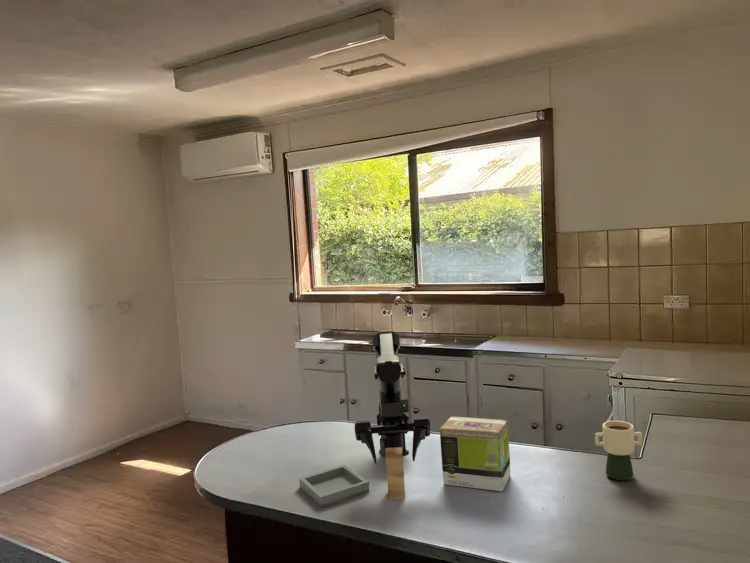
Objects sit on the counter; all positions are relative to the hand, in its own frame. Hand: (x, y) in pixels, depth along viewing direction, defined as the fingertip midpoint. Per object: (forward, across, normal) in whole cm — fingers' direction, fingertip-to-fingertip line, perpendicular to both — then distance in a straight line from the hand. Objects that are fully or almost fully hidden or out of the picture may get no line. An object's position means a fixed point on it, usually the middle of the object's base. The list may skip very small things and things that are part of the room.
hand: (394, 461), depth 140 cm
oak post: (+6, 0, +6) cm, 8 cm away
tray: (+3, -16, +9) cm, 18 cm away
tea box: (+2, +20, +9) cm, 22 cm away
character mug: (+4, +54, +8) cm, 55 cm away
